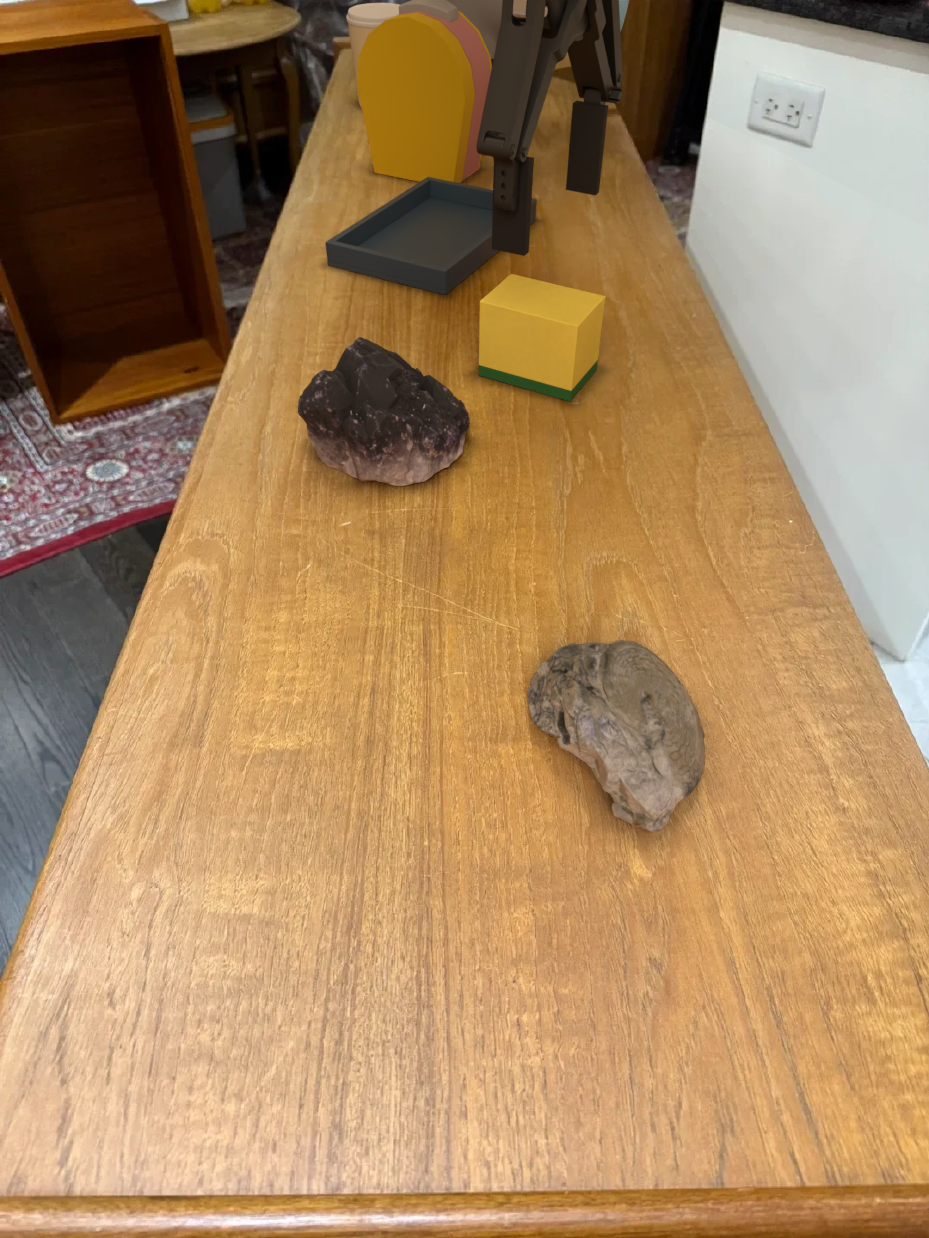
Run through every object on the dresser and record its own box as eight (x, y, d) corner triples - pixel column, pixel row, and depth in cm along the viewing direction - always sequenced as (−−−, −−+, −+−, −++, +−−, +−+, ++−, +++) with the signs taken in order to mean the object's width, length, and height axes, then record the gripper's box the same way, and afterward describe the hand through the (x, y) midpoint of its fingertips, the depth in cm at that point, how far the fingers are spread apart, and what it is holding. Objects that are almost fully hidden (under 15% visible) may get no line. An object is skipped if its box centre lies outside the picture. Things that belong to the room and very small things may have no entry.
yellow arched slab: (493, 169, 114) (498, 0, 101) (464, 190, 109) (465, 15, 96) (395, 151, 119) (387, -13, 106) (363, 170, 114) (350, 1, 101)
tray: (428, 198, 108) (427, 176, 106) (535, 221, 103) (537, 199, 101) (327, 265, 94) (324, 242, 93) (445, 295, 90) (445, 271, 88)
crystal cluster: (450, 397, 77) (437, 286, 71) (493, 475, 68) (483, 354, 61) (301, 430, 76) (273, 318, 69) (323, 515, 66) (293, 394, 59)
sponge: (507, 346, 82) (511, 273, 77) (596, 370, 79) (605, 296, 74) (478, 375, 79) (479, 301, 74) (570, 401, 76) (577, 326, 71)
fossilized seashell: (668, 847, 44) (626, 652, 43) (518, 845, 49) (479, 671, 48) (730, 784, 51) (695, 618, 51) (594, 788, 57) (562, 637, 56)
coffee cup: (406, 115, 130) (402, 19, 121) (345, 111, 131) (337, 15, 123) (421, 96, 136) (418, 4, 128) (363, 93, 138) (356, 1, 129)
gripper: (543, -107, 45) (522, 291, 60) (695, -148, 61) (648, 178, 76) (417, -116, 48) (427, 269, 63) (594, -153, 63) (568, 163, 78)
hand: (548, 219), depth 69 cm, fingers open, 13 cm apart
